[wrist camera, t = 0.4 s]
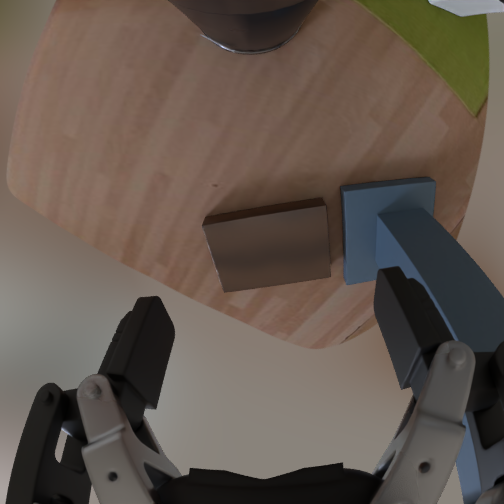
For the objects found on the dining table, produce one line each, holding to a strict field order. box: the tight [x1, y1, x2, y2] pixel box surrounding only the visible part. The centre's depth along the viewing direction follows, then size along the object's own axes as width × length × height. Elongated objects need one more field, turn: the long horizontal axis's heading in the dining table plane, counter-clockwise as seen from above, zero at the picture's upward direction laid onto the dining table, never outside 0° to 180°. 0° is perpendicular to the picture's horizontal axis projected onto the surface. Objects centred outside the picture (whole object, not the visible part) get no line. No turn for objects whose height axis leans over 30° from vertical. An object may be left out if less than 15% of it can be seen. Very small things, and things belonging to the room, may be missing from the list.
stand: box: [340, 177, 504, 504], centre depth 17 cm, size 12×11×30 cm
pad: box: [202, 198, 331, 293], centre depth 30 cm, size 9×12×2 cm
